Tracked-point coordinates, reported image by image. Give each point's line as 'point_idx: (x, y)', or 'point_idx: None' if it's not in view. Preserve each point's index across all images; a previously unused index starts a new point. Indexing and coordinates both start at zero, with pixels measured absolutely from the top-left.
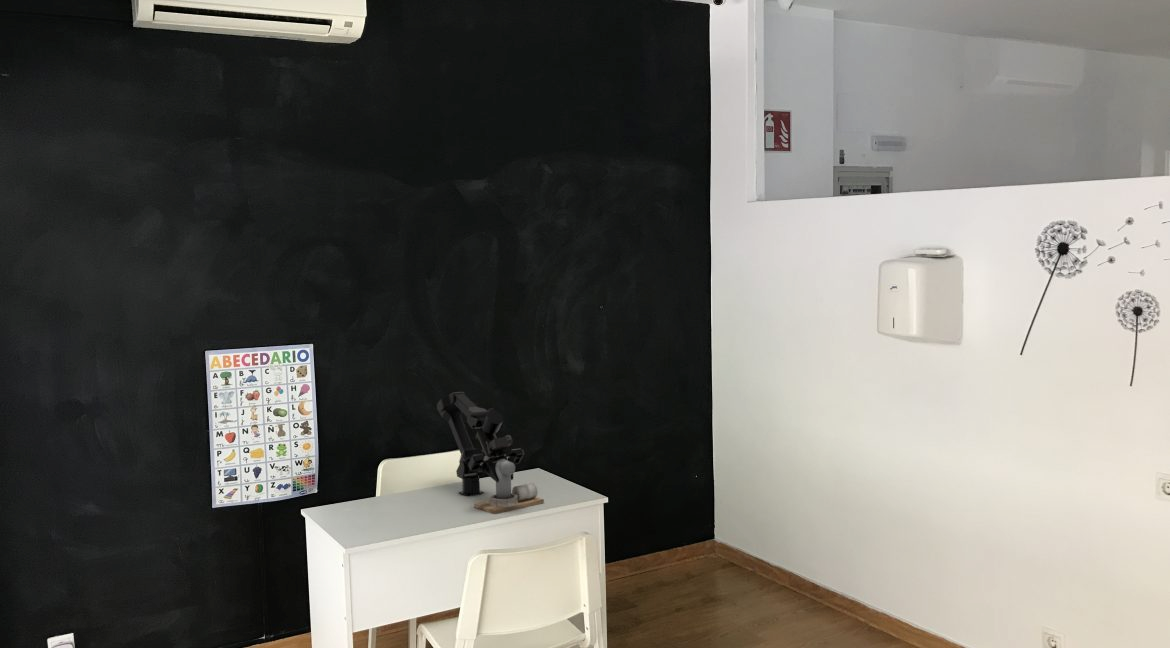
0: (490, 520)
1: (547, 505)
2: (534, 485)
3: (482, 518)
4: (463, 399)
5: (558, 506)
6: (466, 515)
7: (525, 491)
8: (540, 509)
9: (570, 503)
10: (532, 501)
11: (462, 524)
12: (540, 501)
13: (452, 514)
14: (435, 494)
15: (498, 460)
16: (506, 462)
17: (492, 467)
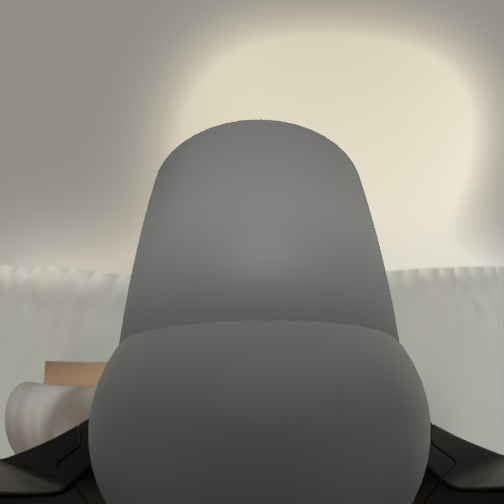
0: (393, 273)
1: (65, 330)
2: (18, 393)
3: (414, 318)
4: None
5: (53, 286)
6: (455, 400)
7: None
8: (125, 295)
9: (7, 292)
10: (100, 371)
11: (483, 284)
12: (64, 364)
13: (489, 440)
14: None
15: (394, 498)
16: (307, 149)
17: (450, 464)
